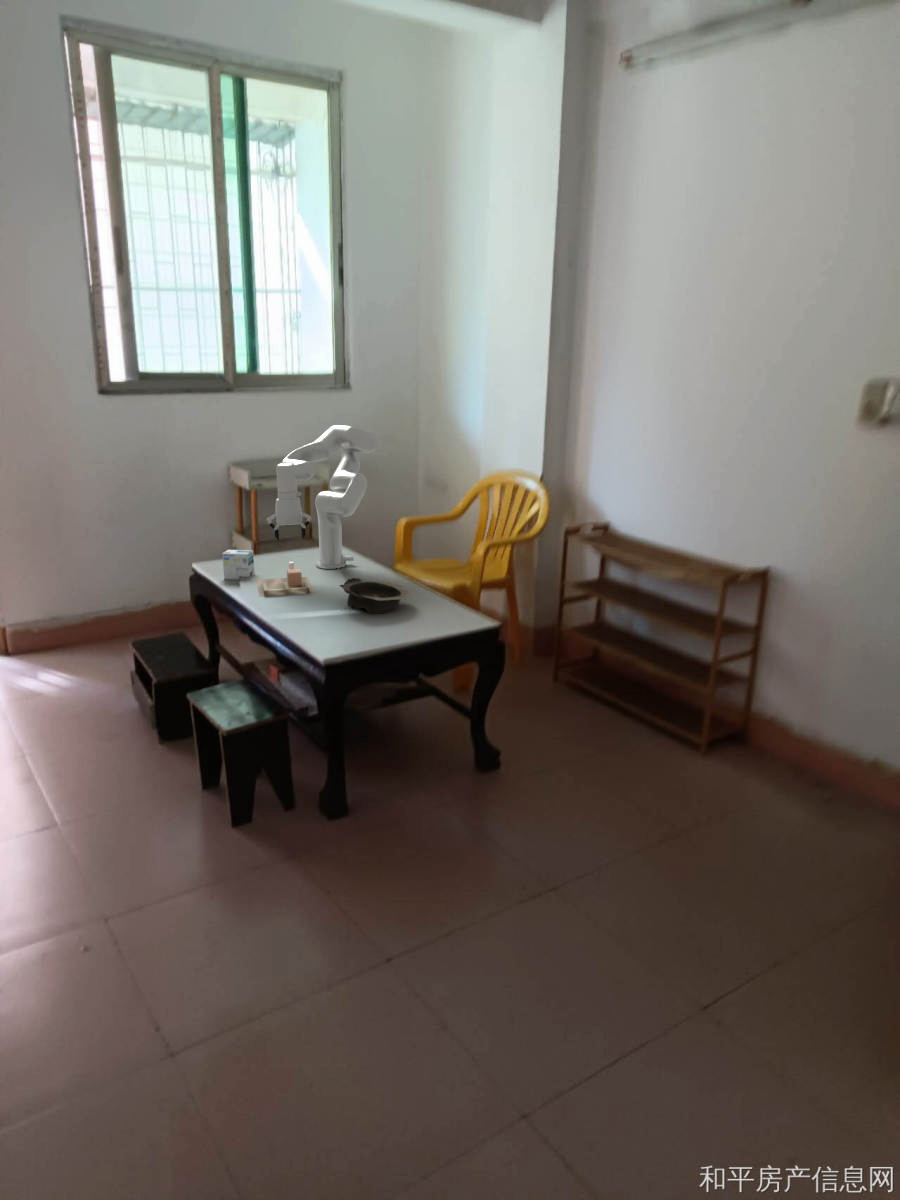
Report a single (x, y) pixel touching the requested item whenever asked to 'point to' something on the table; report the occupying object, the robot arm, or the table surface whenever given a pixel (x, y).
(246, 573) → the light bulb box
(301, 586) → the lane shelf
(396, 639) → the table surface
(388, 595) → the stone bowl
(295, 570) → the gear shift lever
